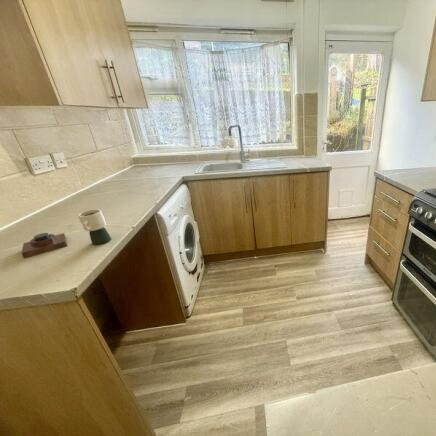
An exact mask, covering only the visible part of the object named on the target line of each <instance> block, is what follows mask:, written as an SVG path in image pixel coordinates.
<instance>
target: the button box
mask: <svg viewBox="0 0 436 436" xmlns="http://www.w3.org/2000/svg"><path fill="white" fill-rule="evenodd" d="M48 234H49V238H48V239H45V240H42V241H35V239H34V237H33V238H32V239H30V240H29V241H26V242H23V244H22V249H21V255H22V257H23V259H27V258H29V257H33V256H38V255H41V254H45V253H49V252H51V251H52V252H53V251H56V250H58V249H62V248H65V247H68V240H67V236H66V234H65V233H64V232H63V233H60V234H59V233H58V234H54V233H48Z"/></svg>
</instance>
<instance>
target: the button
mask: <svg viewBox="0 0 436 436" xmlns="http://www.w3.org/2000/svg"><path fill="white" fill-rule="evenodd" d="M49 234H50V233H49V232H42V233H38V234H35V235H34V236H33V238H34V239H35V241H42V240H45V239H48V238H49Z"/></svg>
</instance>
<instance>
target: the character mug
mask: <svg viewBox="0 0 436 436" xmlns="http://www.w3.org/2000/svg"><path fill="white" fill-rule="evenodd" d="M77 217H78V219H79V222H80V223H81V225H82V229H83V230H84V231H86V232H89V238H90V241H91V242H90V243H91V244H92V245H93V246H97V245H101V244H105V243H108V242H110V241H111V240H112V236H111V235H110V233H109V232H108V229H106V228H105V227H106V226H107V222H106V220H105V217H104V214H103V212H102V210H101V209H98V208H96V209H95V208H94V209H88V210H85V211H83V212H80V213H79V214H78V215H77Z"/></svg>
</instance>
